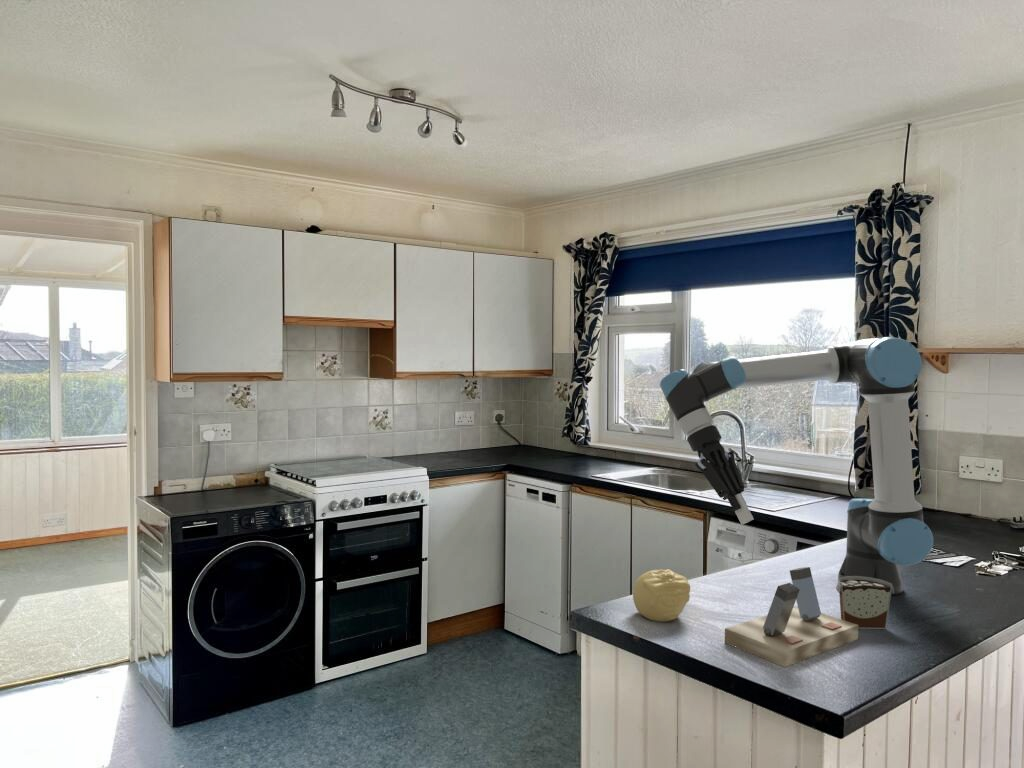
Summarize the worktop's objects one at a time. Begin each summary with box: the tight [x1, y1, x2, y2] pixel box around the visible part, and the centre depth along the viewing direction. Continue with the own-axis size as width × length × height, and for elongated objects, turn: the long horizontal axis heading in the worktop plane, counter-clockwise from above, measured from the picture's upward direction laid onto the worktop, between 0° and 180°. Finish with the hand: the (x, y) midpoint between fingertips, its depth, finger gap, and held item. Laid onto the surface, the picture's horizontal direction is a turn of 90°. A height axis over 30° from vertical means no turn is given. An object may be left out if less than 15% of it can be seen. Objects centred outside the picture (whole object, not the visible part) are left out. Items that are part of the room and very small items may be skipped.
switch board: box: [724, 605, 859, 668], centre depth 152 cm, size 26×14×3 cm, turn 126°
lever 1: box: [763, 582, 800, 636], centre depth 147 cm, size 4×2×11 cm, turn 126°
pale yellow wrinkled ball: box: [632, 568, 691, 622], centre depth 165 cm, size 11×12×11 cm
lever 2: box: [789, 566, 822, 622], centre depth 158 cm, size 4×2×11 cm, turn 126°
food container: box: [835, 576, 894, 630], centre depth 163 cm, size 12×6×10 cm, turn 92°
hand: (747, 521), depth 168 cm, fingers closed
